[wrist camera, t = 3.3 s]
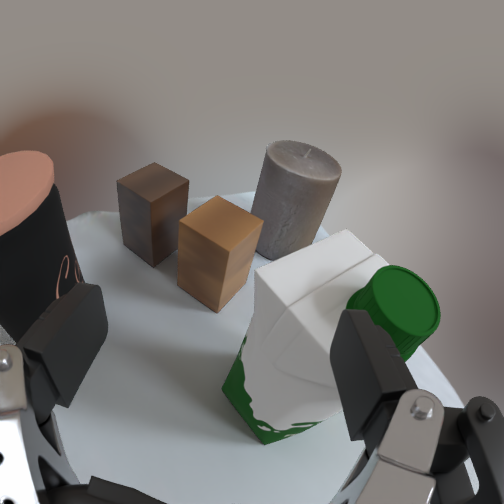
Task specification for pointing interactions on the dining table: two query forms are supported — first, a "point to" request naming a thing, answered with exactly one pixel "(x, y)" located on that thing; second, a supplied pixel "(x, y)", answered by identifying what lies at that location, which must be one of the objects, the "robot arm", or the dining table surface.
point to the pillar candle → (293, 196)
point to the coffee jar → (32, 242)
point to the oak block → (216, 251)
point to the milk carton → (318, 330)
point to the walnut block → (152, 211)
